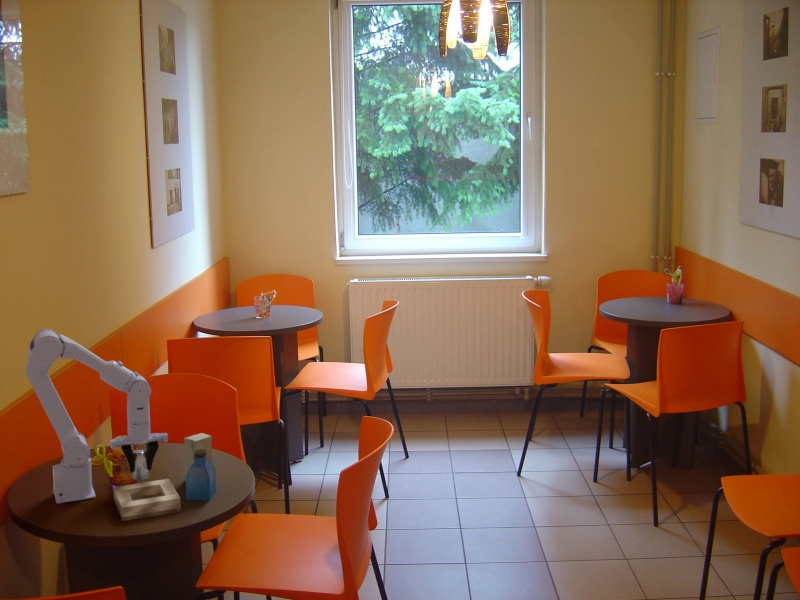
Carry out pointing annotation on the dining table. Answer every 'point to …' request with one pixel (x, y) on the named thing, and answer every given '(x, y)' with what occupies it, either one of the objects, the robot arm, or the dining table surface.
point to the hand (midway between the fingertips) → (140, 470)
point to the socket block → (146, 499)
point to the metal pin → (140, 464)
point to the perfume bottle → (200, 478)
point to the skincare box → (197, 448)
